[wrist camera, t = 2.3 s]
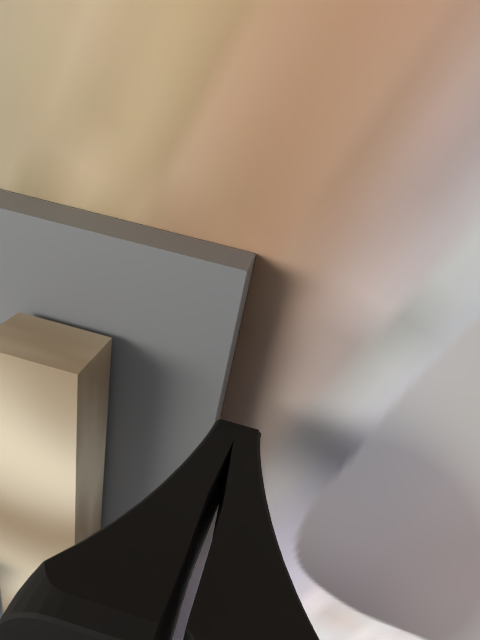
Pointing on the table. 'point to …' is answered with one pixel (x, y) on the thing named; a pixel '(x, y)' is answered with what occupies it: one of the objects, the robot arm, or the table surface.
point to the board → (132, 326)
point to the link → (49, 442)
